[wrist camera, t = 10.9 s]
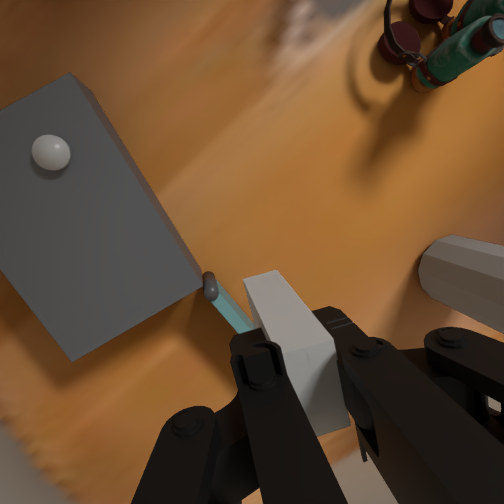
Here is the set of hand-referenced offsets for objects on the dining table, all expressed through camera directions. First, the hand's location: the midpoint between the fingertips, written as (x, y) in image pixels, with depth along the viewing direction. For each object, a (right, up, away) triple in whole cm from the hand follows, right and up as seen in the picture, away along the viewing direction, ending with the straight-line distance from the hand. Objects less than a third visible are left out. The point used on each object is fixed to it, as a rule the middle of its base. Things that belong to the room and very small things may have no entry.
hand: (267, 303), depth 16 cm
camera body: (-16, +5, +17) cm, 24 cm away
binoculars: (+14, +22, +19) cm, 33 cm away
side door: (-1, -5, +21) cm, 22 cm away
